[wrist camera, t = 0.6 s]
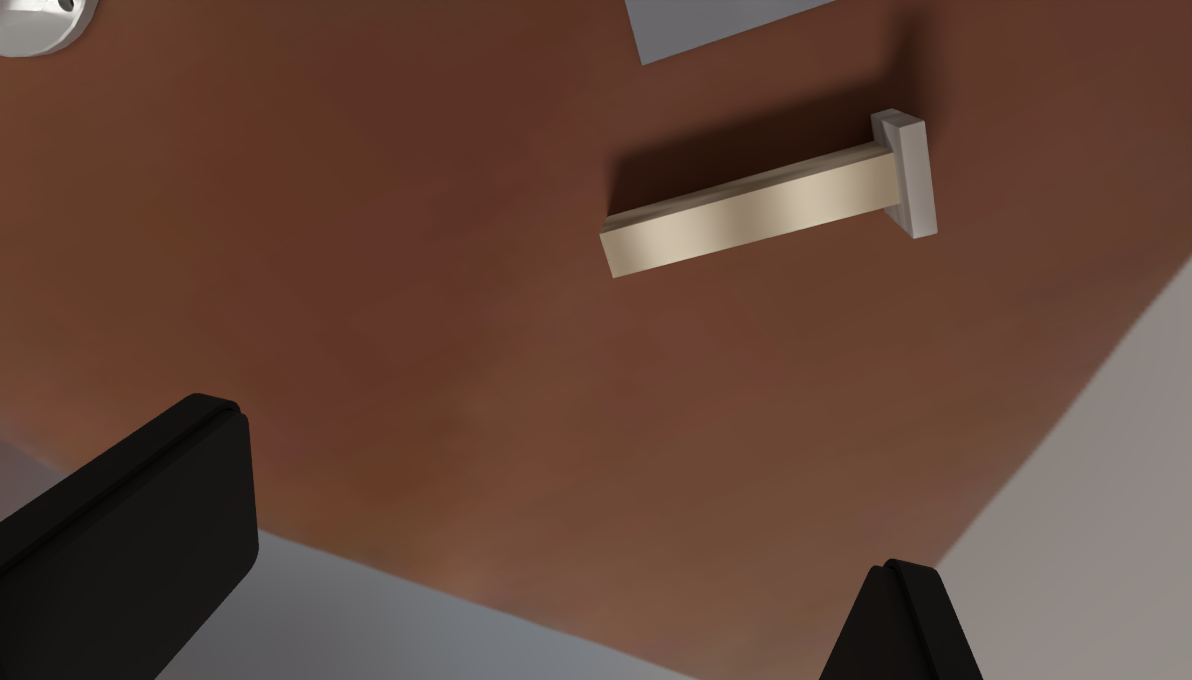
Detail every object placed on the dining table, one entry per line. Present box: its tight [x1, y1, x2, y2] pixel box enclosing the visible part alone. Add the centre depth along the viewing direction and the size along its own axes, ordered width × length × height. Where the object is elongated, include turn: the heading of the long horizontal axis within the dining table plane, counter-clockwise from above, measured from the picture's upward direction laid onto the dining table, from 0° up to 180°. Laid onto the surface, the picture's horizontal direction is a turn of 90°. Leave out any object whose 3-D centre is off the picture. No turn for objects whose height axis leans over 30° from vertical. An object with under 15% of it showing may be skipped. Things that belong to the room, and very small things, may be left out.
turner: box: [599, 108, 938, 278], centre depth 32 cm, size 15×5×5 cm, turn 108°
